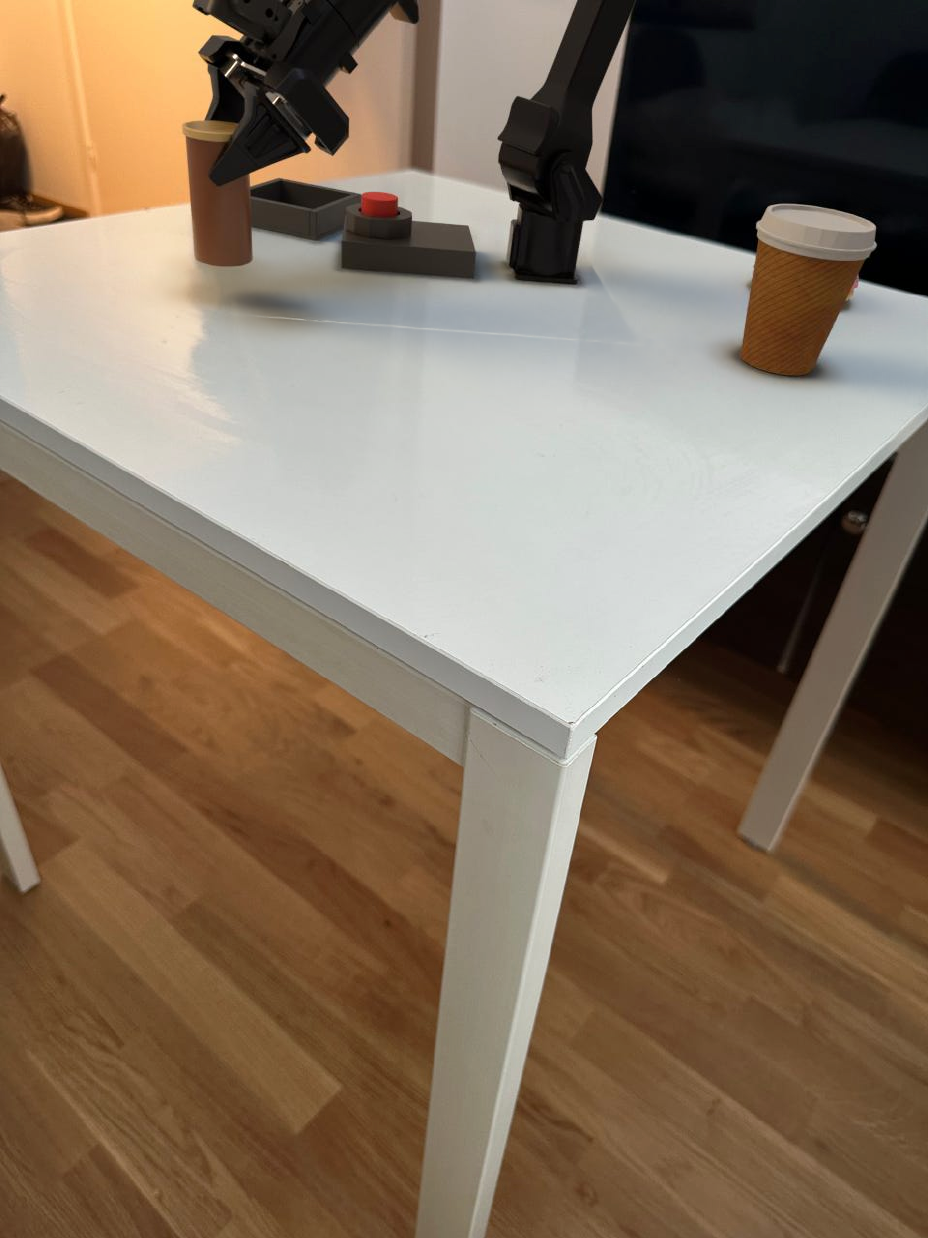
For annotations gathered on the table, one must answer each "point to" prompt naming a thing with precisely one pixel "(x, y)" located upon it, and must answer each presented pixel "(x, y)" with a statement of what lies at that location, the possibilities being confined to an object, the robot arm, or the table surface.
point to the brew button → (379, 204)
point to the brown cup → (217, 199)
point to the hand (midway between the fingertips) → (202, 173)
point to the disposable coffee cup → (801, 283)
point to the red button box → (406, 245)
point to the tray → (299, 208)
